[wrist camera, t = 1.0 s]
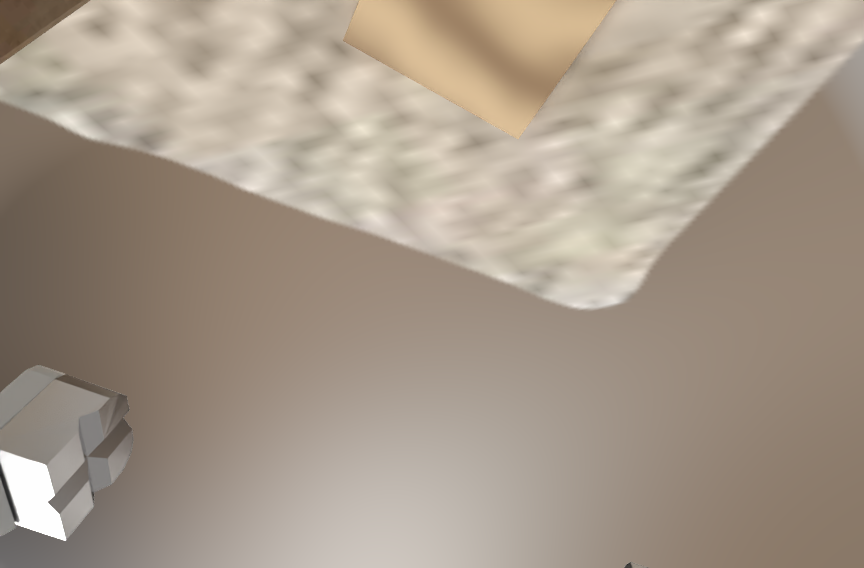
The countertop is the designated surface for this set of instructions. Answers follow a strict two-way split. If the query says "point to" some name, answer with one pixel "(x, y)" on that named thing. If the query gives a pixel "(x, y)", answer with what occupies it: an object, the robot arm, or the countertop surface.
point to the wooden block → (30, 21)
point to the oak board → (480, 49)
